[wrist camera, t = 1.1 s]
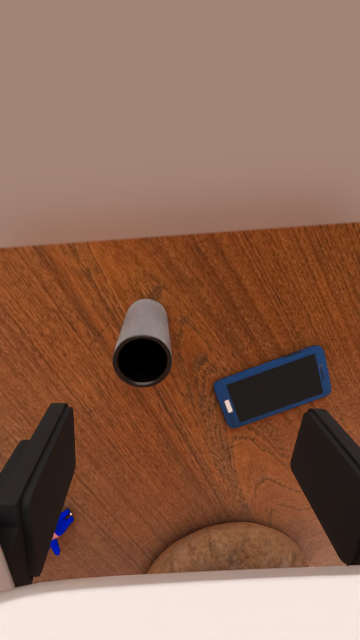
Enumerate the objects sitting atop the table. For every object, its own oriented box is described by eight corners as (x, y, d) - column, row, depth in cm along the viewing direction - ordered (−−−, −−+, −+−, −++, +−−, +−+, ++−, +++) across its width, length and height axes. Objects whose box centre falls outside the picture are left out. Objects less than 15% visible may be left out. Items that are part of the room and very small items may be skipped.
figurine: (22, 527, 40) (5, 566, 35) (54, 496, 38) (41, 532, 34) (50, 541, 41) (37, 580, 36) (83, 511, 40) (73, 548, 35)
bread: (264, 486, 41) (295, 563, 32) (321, 578, 50) (359, 659, 40) (113, 557, 43) (102, 648, 34) (193, 632, 52) (201, 721, 43)
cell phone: (211, 382, 34) (212, 385, 33) (320, 342, 33) (323, 345, 33) (228, 426, 37) (229, 430, 36) (329, 390, 36) (333, 394, 35)
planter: (131, 293, 30) (119, 328, 20) (172, 304, 30) (179, 342, 21) (121, 331, 31) (106, 381, 21) (161, 341, 32) (163, 393, 22)
